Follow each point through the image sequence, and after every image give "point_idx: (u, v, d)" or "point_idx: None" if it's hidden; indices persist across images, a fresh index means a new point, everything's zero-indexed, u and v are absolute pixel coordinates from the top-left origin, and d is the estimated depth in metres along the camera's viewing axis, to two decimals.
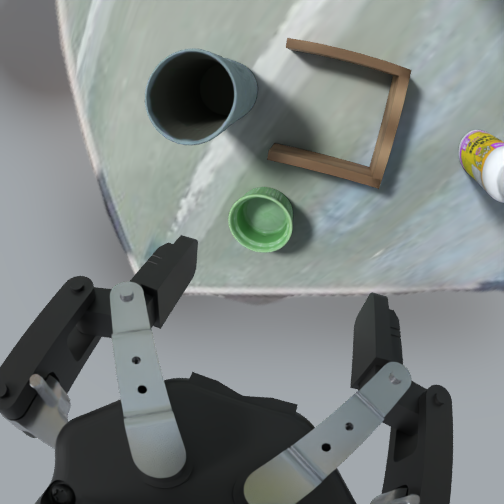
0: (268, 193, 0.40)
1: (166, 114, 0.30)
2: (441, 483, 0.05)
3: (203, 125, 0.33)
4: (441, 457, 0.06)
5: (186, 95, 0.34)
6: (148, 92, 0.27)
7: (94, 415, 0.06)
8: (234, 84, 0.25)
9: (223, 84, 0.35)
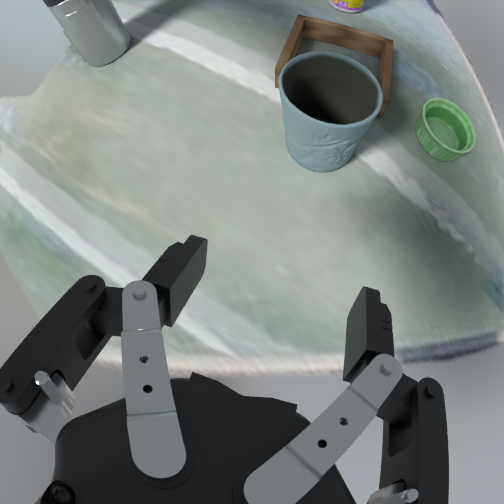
0: (420, 116, 0.34)
1: None
2: (439, 475, 0.06)
3: None
4: (436, 450, 0.06)
5: None
6: None
7: (94, 415, 0.06)
8: (322, 52, 0.26)
9: None
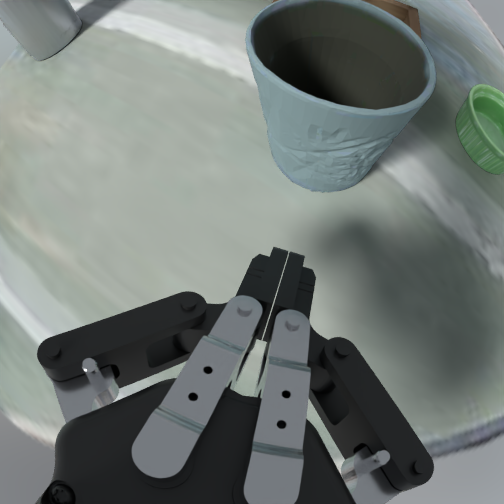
0: (464, 109, 0.21)
1: None
2: (397, 425, 0.07)
3: None
4: (380, 404, 0.08)
5: None
6: None
7: (94, 415, 0.06)
8: None
9: None
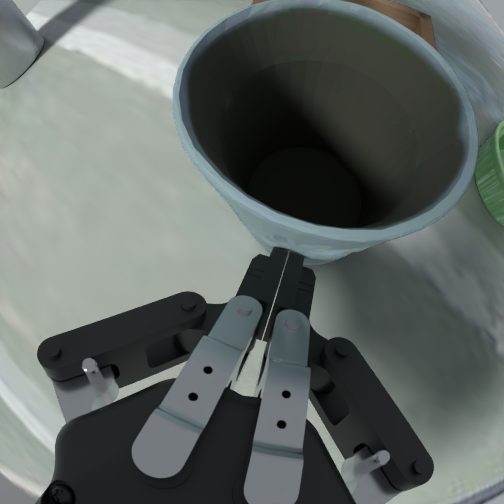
0: (487, 152, 0.17)
1: (380, 222, 0.09)
2: (397, 425, 0.07)
3: (399, 182, 0.13)
4: (380, 404, 0.08)
5: None
6: (294, 218, 0.07)
7: (94, 415, 0.06)
8: None
9: (295, 201, 0.19)
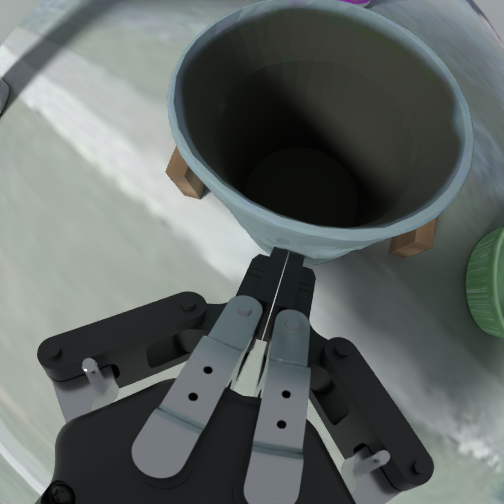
0: (484, 262, 0.15)
1: (381, 219, 0.09)
2: (397, 425, 0.07)
3: (396, 177, 0.13)
4: (380, 404, 0.08)
5: None
6: (298, 221, 0.07)
7: (93, 414, 0.06)
8: None
9: (292, 202, 0.19)
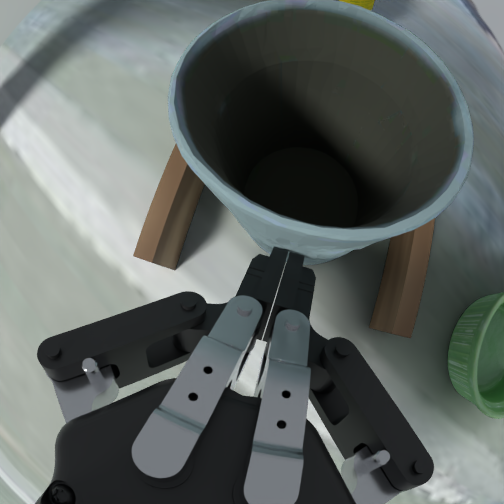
0: (468, 339, 0.15)
1: (381, 219, 0.09)
2: (397, 425, 0.07)
3: (396, 177, 0.13)
4: (380, 404, 0.08)
5: None
6: (298, 221, 0.07)
7: (93, 414, 0.06)
8: (293, 0, 0.09)
9: (292, 202, 0.19)
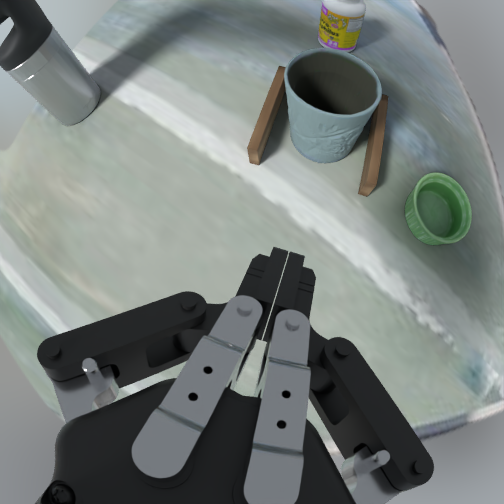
0: (411, 197, 0.33)
1: None
2: (397, 425, 0.07)
3: None
4: (380, 404, 0.08)
5: None
6: None
7: (94, 414, 0.06)
8: (321, 48, 0.27)
9: None
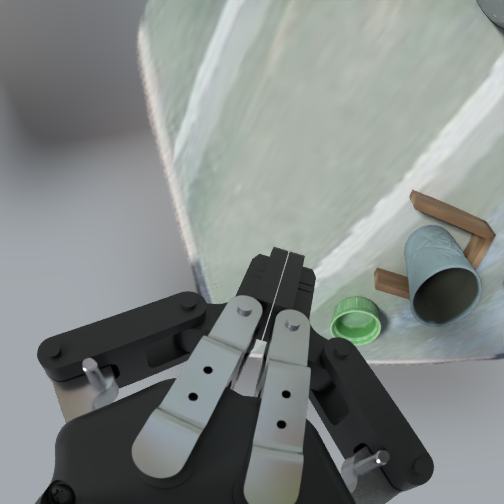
0: (366, 307, 0.48)
1: (414, 296, 0.36)
2: (397, 425, 0.07)
3: (426, 294, 0.39)
4: (380, 404, 0.08)
5: None
6: (417, 289, 0.33)
7: (93, 414, 0.06)
8: (479, 294, 0.30)
9: None
